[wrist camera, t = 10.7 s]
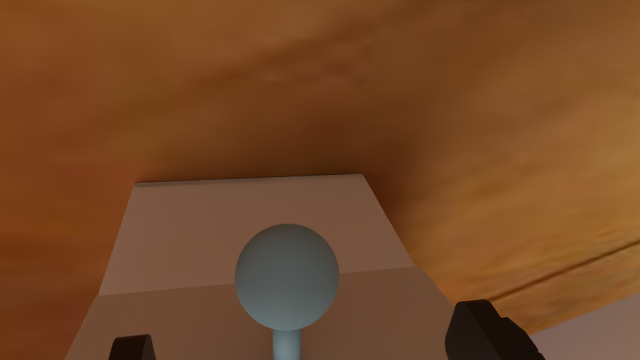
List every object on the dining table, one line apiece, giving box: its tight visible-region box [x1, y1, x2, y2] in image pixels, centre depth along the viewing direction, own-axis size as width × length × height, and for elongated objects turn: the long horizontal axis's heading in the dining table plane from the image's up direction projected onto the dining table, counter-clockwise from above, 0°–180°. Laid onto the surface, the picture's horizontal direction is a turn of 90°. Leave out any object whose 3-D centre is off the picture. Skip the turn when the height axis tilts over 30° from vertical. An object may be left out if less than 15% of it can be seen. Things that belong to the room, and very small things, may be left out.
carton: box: [98, 174, 415, 296], centre depth 29 cm, size 16×14×11 cm
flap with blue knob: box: [65, 224, 455, 360], centre depth 16 cm, size 15×7×6 cm
